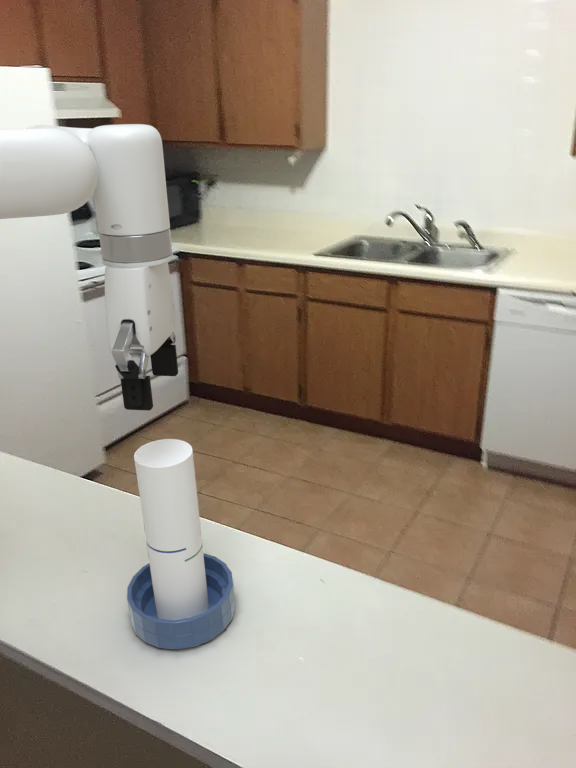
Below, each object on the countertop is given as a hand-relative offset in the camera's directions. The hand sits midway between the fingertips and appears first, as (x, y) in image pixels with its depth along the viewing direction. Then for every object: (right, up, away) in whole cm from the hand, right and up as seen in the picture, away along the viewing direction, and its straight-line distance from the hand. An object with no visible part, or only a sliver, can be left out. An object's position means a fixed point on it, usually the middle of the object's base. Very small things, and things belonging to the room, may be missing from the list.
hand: (153, 391), depth 79 cm
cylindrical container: (+1, -31, +14) cm, 34 cm away
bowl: (+1, -31, +14) cm, 34 cm away
